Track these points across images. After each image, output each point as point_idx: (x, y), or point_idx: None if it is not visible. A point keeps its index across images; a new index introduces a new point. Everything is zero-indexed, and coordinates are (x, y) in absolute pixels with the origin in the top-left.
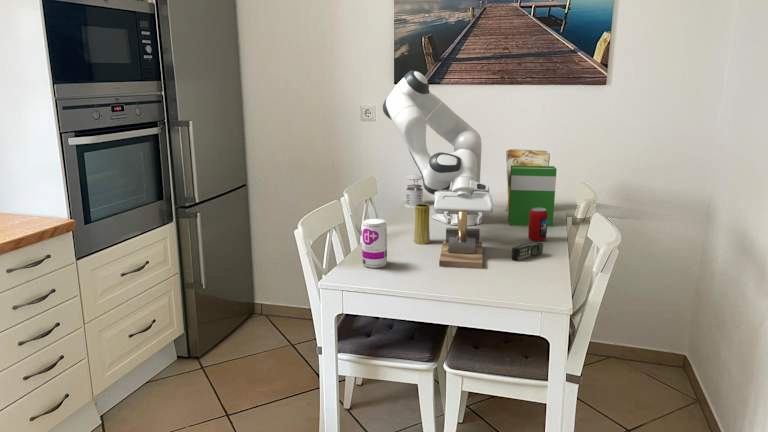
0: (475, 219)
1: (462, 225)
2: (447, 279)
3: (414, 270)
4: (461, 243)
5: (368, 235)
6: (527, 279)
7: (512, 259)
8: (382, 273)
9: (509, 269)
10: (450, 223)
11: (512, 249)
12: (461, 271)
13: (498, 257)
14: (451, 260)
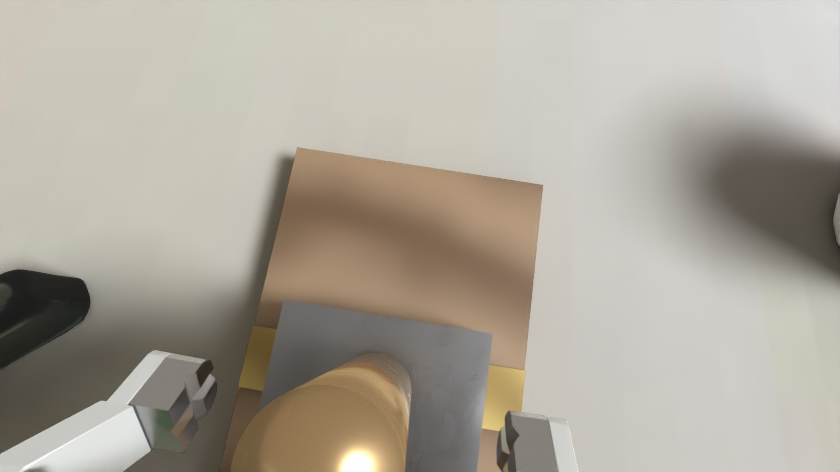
0: (162, 397)
1: (364, 363)
2: (500, 22)
3: (662, 139)
4: (390, 317)
5: None
6: (130, 17)
7: (88, 295)
8: (817, 100)
9: (166, 146)
10: (507, 420)
11: (34, 293)
12: (421, 121)
13: None
14: (470, 187)
